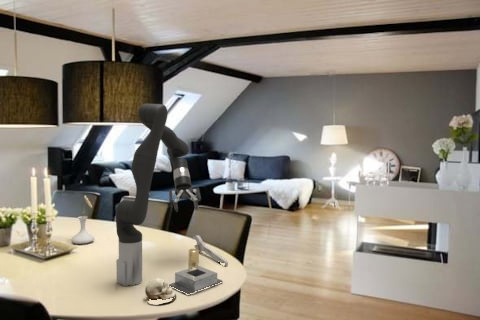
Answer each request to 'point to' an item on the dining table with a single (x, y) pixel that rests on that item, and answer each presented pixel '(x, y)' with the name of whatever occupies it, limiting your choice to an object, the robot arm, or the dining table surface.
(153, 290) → the skull
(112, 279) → the dining table surface
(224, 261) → the wrench
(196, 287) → the grey square holder
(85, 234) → the flower in vase
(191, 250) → the brass fitting
